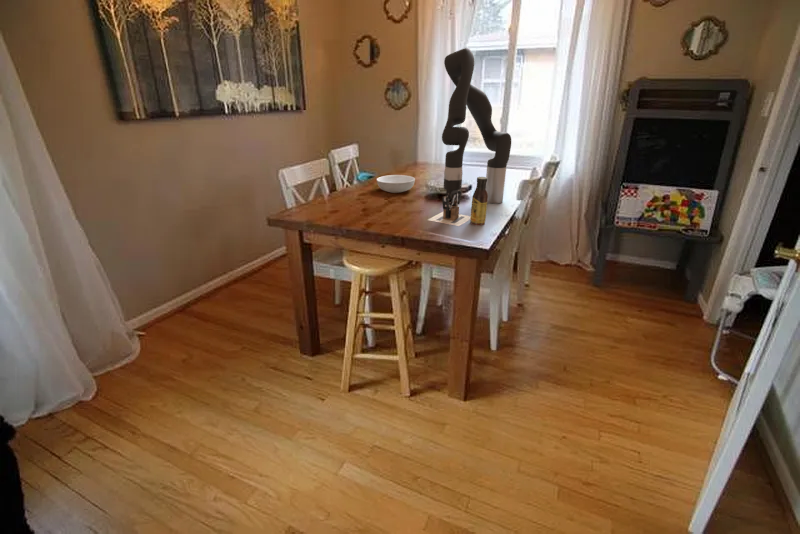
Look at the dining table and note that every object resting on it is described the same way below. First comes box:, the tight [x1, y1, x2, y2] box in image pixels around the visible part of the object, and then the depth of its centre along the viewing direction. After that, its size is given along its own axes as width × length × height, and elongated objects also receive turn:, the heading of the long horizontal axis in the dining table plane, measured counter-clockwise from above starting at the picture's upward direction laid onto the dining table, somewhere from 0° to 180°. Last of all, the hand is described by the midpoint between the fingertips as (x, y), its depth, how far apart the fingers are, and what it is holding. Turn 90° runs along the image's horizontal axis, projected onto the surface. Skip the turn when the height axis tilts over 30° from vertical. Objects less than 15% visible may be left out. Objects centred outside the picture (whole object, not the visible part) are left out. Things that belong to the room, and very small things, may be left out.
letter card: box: [427, 211, 471, 227], centre depth 173 cm, size 15×15×1 cm
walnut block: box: [442, 205, 460, 221], centre depth 172 cm, size 5×5×5 cm
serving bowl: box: [376, 174, 416, 194], centre depth 219 cm, size 21×21×7 cm
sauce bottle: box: [469, 176, 488, 227], centre depth 163 cm, size 6×6×20 cm
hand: (450, 216), depth 173 cm, fingers closed on walnut block, 5 cm apart
